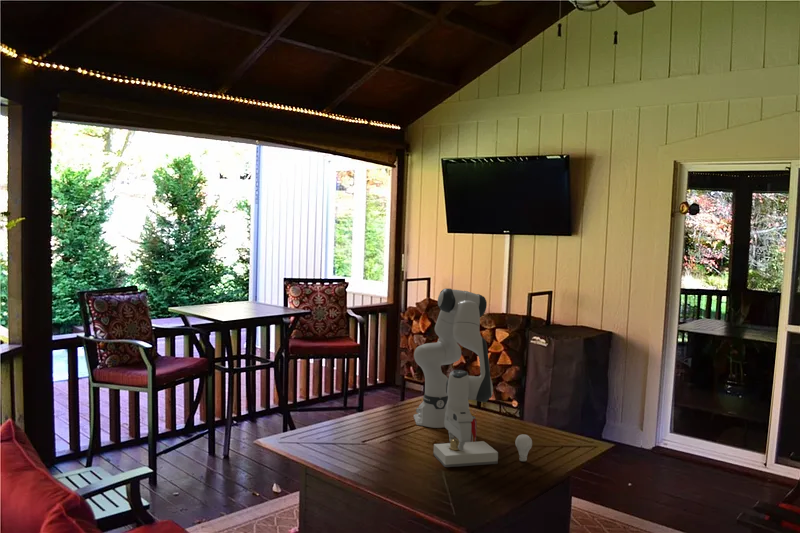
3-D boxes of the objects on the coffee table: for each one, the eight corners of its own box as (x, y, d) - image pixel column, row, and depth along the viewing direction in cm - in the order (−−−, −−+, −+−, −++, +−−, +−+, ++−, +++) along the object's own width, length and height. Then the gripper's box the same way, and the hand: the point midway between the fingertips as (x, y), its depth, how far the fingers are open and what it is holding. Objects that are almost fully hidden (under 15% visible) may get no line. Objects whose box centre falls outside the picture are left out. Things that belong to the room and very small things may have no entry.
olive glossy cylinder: (448, 455, 253) (448, 438, 253) (458, 454, 254) (459, 437, 254) (452, 459, 249) (452, 442, 249) (462, 458, 250) (463, 441, 250)
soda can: (475, 447, 267) (476, 419, 266) (458, 446, 268) (459, 418, 268) (476, 442, 274) (477, 415, 273) (460, 441, 275) (461, 414, 275)
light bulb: (511, 459, 254) (512, 432, 253) (525, 458, 256) (526, 431, 256) (520, 465, 247) (521, 438, 247) (534, 463, 250) (535, 436, 250)
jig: (433, 455, 256) (433, 444, 256) (483, 451, 262) (483, 441, 262) (445, 467, 243) (445, 455, 243) (497, 463, 249) (498, 452, 249)
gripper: (441, 405, 260) (440, 438, 260) (459, 419, 240) (457, 455, 241) (455, 404, 261) (454, 437, 262) (474, 418, 242) (473, 454, 242)
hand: (456, 446), depth 251 cm, fingers open, 8 cm apart
